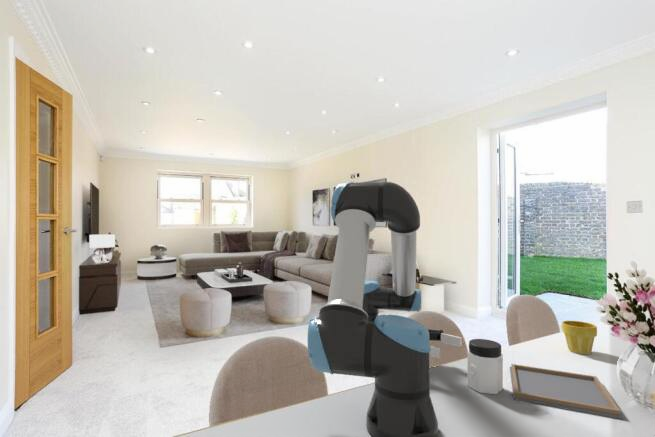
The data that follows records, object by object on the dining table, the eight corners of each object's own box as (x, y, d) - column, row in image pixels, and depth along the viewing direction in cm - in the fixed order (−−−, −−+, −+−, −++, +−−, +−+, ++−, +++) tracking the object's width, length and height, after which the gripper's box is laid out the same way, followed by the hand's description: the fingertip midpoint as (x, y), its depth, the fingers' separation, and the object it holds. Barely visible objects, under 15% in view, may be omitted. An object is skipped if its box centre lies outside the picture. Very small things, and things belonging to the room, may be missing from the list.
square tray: (513, 399, 92) (513, 392, 92) (509, 368, 113) (509, 363, 113) (623, 419, 83) (623, 412, 83) (597, 381, 103) (597, 376, 103)
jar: (461, 382, 102) (461, 339, 102) (485, 379, 104) (485, 337, 105) (484, 396, 93) (484, 349, 94) (509, 392, 96) (509, 347, 96)
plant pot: (554, 348, 133) (554, 321, 133) (576, 345, 136) (576, 319, 136) (582, 357, 123) (582, 328, 123) (604, 355, 126) (604, 326, 126)
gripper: (410, 335, 130) (468, 350, 115) (367, 352, 112) (429, 372, 97) (410, 314, 130) (468, 326, 115) (367, 328, 112) (429, 344, 97)
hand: (451, 347), depth 106 cm, fingers open, 13 cm apart
